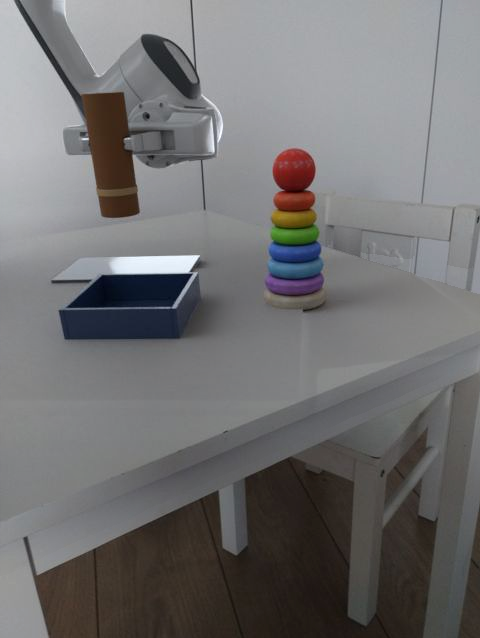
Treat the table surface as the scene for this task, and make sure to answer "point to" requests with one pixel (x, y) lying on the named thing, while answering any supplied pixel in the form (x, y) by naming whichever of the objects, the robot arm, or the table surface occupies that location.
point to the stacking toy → (294, 237)
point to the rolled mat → (111, 154)
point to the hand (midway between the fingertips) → (106, 144)
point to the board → (125, 267)
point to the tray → (132, 306)
